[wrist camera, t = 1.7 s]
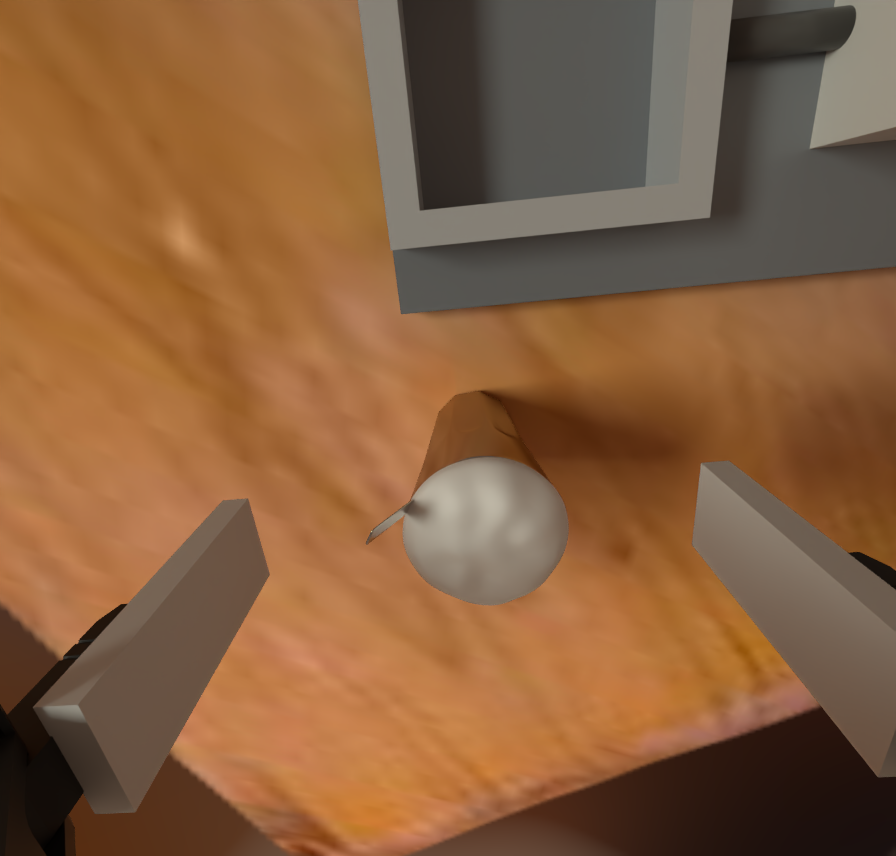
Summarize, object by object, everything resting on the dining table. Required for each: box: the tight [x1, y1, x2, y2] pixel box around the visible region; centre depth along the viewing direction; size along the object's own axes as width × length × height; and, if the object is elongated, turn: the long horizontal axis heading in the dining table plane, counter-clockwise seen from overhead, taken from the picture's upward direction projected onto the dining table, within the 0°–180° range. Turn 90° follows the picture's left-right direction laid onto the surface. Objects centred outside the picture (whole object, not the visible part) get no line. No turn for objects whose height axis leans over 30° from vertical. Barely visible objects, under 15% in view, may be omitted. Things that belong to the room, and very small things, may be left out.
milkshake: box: [366, 391, 568, 605], centre depth 16 cm, size 4×5×10 cm
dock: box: [358, 0, 896, 314], centre depth 12 cm, size 14×22×6 cm, turn 95°
